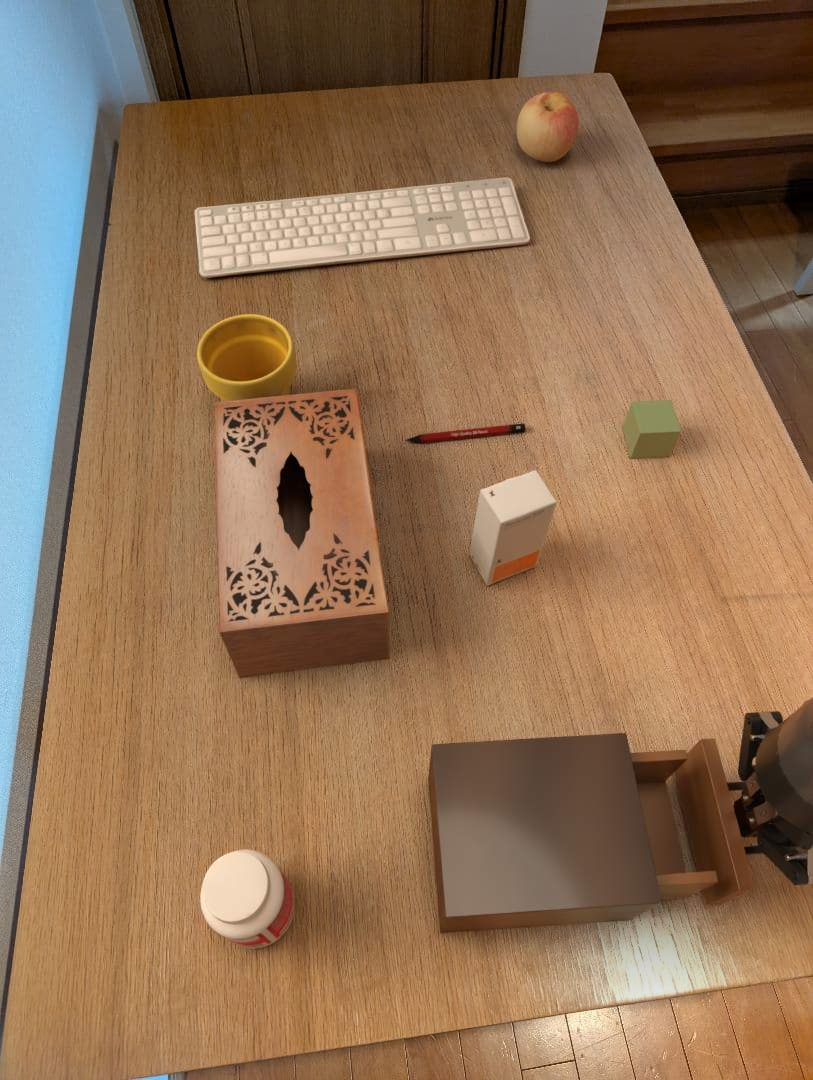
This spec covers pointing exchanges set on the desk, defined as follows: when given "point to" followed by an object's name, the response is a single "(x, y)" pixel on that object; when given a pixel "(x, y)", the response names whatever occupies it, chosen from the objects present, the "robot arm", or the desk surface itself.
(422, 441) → the pencil
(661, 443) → the block
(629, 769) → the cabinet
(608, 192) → the desk surface
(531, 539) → the cosmetic box
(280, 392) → the flower pot
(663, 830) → the drawer
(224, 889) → the pill bottle
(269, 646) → the tissue box cover
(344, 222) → the keyboard
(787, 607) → the desk surface
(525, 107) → the apple
